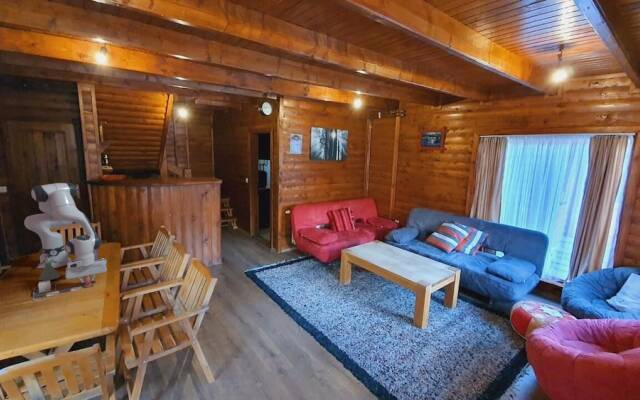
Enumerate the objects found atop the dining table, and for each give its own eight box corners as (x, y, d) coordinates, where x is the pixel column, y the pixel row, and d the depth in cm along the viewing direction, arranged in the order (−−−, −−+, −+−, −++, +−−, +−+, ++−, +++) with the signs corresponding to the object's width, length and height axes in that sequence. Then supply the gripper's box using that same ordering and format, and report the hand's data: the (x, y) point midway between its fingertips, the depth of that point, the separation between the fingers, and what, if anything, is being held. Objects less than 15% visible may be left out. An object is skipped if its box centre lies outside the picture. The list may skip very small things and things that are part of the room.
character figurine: (29, 287, 178) (25, 259, 175) (33, 281, 185) (29, 255, 182) (63, 281, 187) (60, 255, 184) (65, 276, 194) (62, 251, 190)
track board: (33, 297, 168) (33, 296, 168) (93, 284, 186) (93, 283, 186) (32, 300, 164) (32, 299, 164) (94, 287, 183) (94, 286, 182)
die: (39, 289, 175) (38, 282, 174) (51, 287, 178) (50, 280, 178) (39, 293, 172) (38, 285, 171) (50, 290, 175) (49, 283, 174)
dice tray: (34, 289, 175) (34, 287, 175) (56, 285, 182) (56, 283, 182) (33, 296, 168) (32, 294, 168) (56, 291, 175) (56, 289, 174)
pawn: (83, 285, 182) (82, 272, 181) (91, 283, 185) (90, 270, 183) (84, 288, 179) (82, 274, 178) (92, 286, 182) (91, 273, 180)
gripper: (105, 256, 188) (107, 275, 191) (64, 262, 175) (66, 283, 177) (106, 259, 184) (108, 279, 186) (64, 266, 170) (66, 288, 173)
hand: (87, 281), depth 182 cm, fingers closed on pawn, 3 cm apart
